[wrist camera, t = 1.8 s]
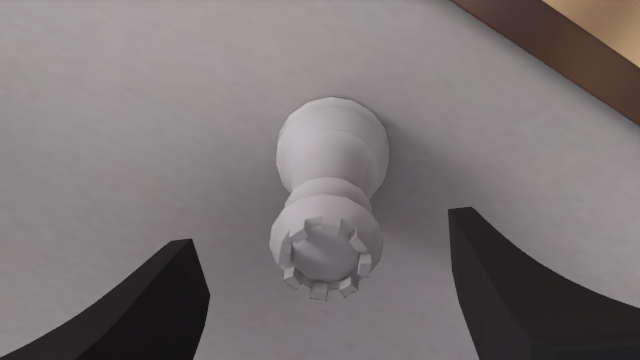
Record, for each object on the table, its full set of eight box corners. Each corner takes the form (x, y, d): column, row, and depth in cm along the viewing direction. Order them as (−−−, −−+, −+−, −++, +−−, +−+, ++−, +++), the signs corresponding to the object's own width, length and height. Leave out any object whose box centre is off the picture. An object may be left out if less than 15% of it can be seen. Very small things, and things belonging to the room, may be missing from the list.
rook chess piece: (361, 74, 20) (366, 165, 13) (406, 170, 22) (432, 297, 15) (258, 120, 21) (212, 229, 14) (308, 209, 23) (289, 345, 16)
